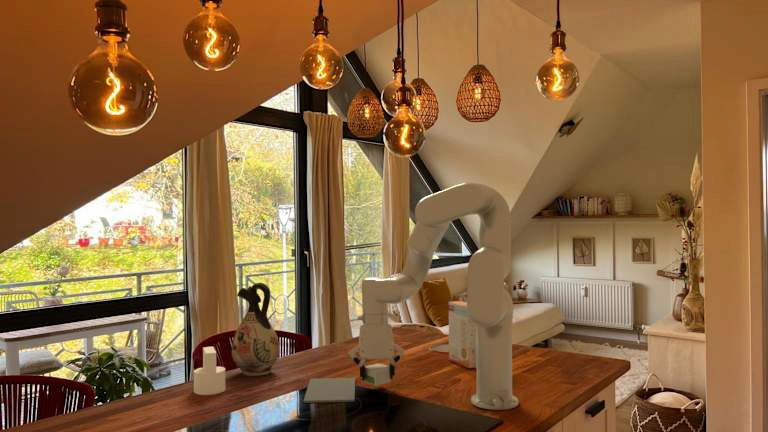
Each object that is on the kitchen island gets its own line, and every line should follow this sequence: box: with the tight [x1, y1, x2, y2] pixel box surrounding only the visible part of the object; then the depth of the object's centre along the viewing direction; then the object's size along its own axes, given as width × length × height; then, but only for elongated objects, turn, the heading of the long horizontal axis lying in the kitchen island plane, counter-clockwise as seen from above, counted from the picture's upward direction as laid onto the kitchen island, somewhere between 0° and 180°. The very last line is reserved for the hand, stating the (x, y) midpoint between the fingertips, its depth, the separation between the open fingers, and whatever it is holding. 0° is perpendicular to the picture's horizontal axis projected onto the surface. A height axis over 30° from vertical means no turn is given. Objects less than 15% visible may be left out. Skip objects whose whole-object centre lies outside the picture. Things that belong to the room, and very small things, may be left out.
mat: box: [303, 377, 356, 404], centre depth 172 cm, size 22×14×1 cm, turn 2°
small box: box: [364, 363, 391, 387], centre depth 173 cm, size 6×6×5 cm
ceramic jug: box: [231, 282, 280, 377], centre depth 192 cm, size 17×15×30 cm
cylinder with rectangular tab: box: [193, 346, 226, 396], centre depth 174 cm, size 9×9×12 cm
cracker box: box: [448, 300, 477, 369], centre depth 202 cm, size 14×6×21 cm, turn 22°
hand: (377, 378), depth 173 cm, fingers closed on small box, 7 cm apart
